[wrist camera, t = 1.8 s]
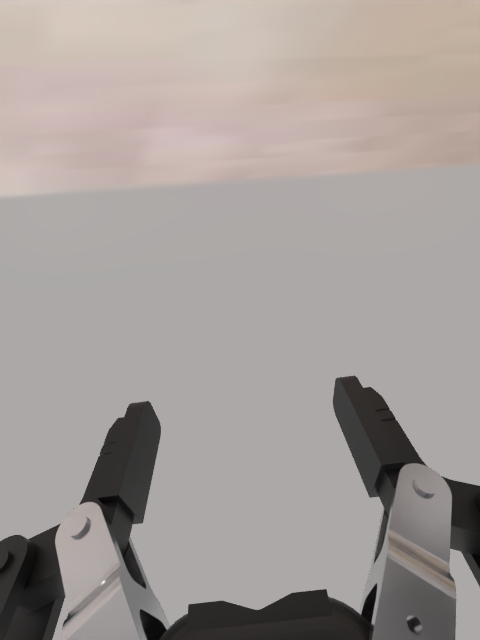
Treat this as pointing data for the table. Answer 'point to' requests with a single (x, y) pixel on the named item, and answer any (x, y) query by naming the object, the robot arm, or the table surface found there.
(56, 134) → the table surface
